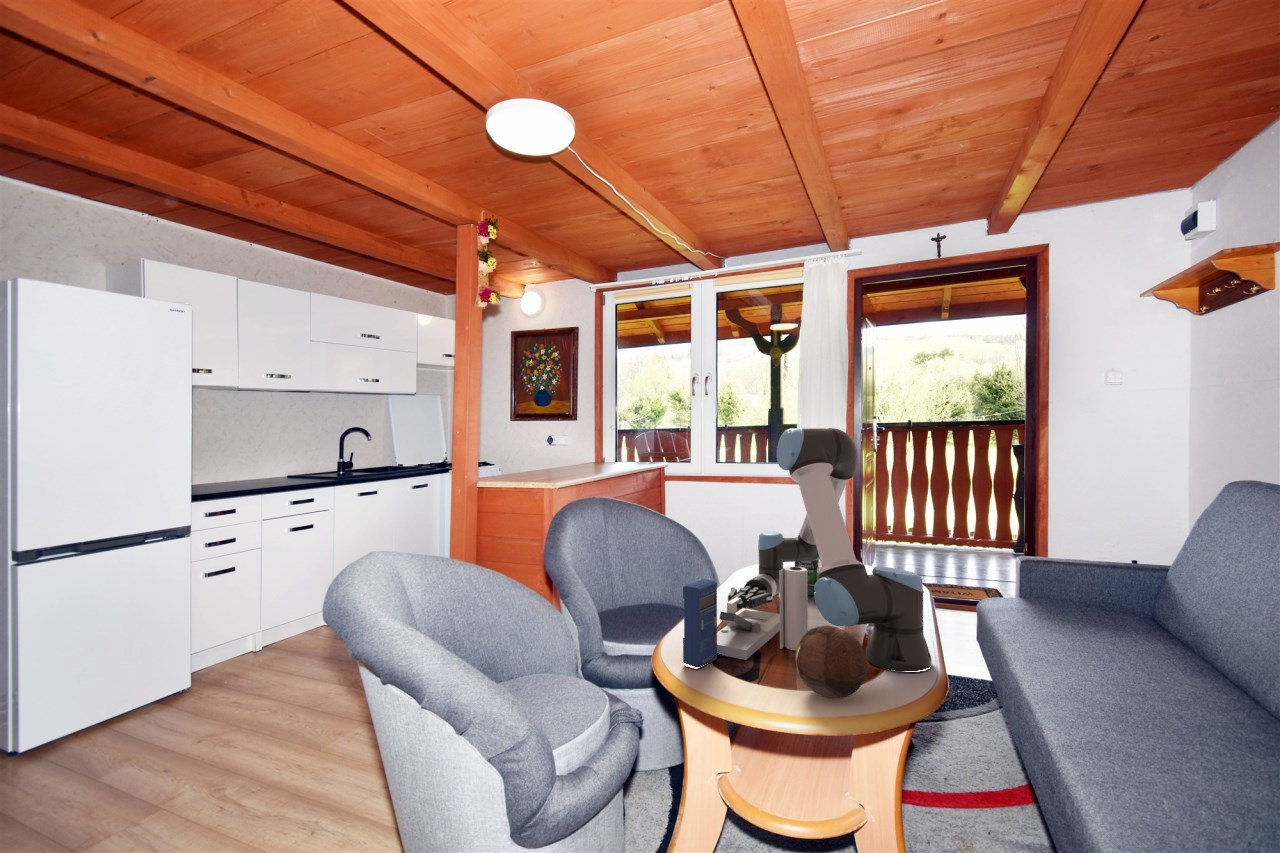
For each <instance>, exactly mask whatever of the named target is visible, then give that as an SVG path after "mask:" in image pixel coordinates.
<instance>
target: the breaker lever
mask: <svg viewBox="0 0 1280 853" xmlns="http://www.w3.org/2000/svg"><path fill="white" fill-rule="evenodd" d="M719 620H720V621H722V622H723V623H726V624H727V625H728V624H729V625H731V626H733V627H735V628H737V629H742V630H747V631H751V630H752V623H750V622H748V621H746V620H745V619H743V618H741V617H740V616H738V615H736V614H735V612H734V613H727V611H720V614H719Z"/></svg>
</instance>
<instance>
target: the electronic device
mask: <svg viewBox="0 0 1280 853" xmlns="http://www.w3.org/2000/svg"><path fill="white" fill-rule="evenodd" d="M682 598H683V607H684V608H683V617H684V618H683V622H684V623H683V627H684V628H683V630H684V631H683V635H684V636H683V637H682V646H683V647H682V649H683V650H682V656H683V657H682V661H683V662H684V663H686V664H689V665H692V666H695V667H701V666H703V665H705V664H707V663H709V664H711V663H712V662H714V661H715V660H717V659H718V654H717V632H718V584H717V581H716V580H713V579H708V578H707V579H706V578H703V579H700V580H697V581H694V582H692V583H689V584H686V585H683V587H682ZM707 665H708V664H707ZM705 666H706V665H705ZM703 667H704V666H703Z"/></svg>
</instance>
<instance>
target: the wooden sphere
mask: <svg viewBox="0 0 1280 853" xmlns="http://www.w3.org/2000/svg"><path fill="white" fill-rule="evenodd" d="M795 665H796V666H795V667H796V670H797V673H798V675H799V677H800V680H802V681H803V683H804V684H805V685H806V687H808V689H810V690H811V691H812V692H813V693H815V694H816V695H818V696H821V697H823V698H828V699H833V700H834V699H835V700H836V699H843V698H846V697H847V698H848V697H849V696H852V695H853V694H854V693H856V692H857V691H858V690H859V689H860V688H861V686H862V685H863V683H864V681H865V679H866V676H867V672H868V660H867V658H866V652H865V649H864V648H863V646H862V644H861V643H860V641H859V640H858V638H856V636H854V635H853V634H852V633H851V632H850V631H848V630H847V629H844V628H842V627H841V626H835V625H832V624H831V625H828V624H824V625H819V626H816V627H812V628H811V629H810V630H809V629H808V632H807V633H806V634H805V635H804V636H803V637H802V638H801V640H800V641H799V643H798V646H797V649H796V651H795Z"/></svg>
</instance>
